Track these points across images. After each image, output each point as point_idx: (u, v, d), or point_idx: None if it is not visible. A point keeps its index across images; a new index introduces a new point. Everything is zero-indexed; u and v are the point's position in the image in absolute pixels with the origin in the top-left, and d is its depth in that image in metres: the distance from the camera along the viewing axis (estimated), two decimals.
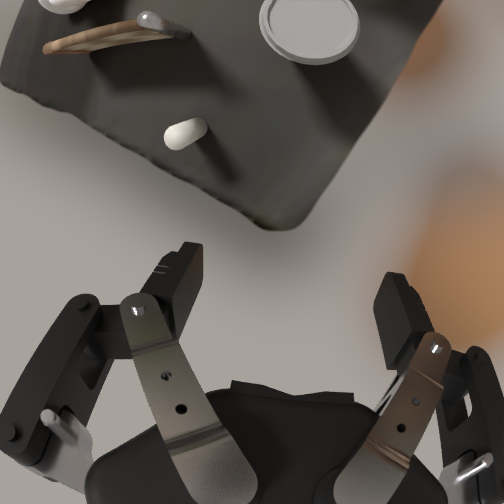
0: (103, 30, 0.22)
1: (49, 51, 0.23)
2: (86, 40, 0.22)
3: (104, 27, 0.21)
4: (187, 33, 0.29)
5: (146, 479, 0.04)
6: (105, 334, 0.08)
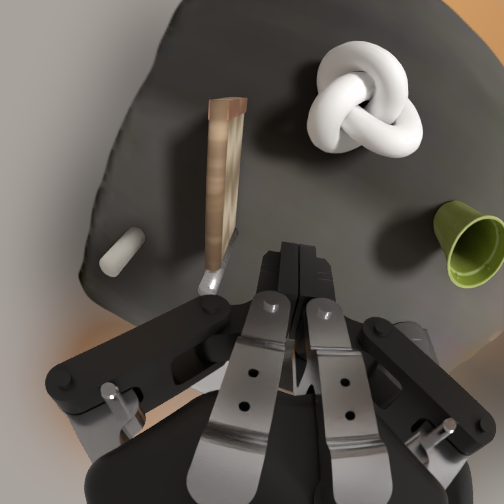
0: (212, 223, 0.25)
1: (210, 114, 0.21)
2: (206, 191, 0.24)
3: (216, 225, 0.25)
4: None
5: (146, 479, 0.04)
6: (236, 335, 0.08)
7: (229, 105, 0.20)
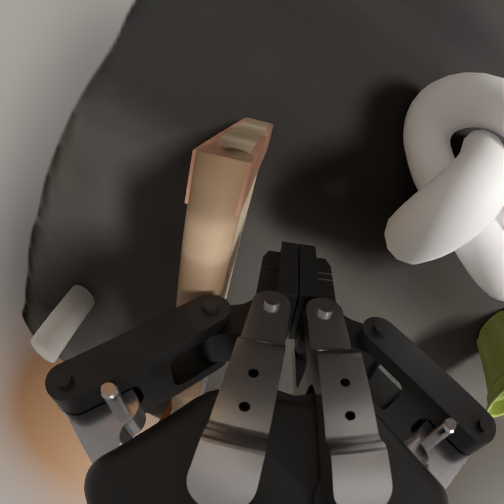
0: None
1: (191, 191, 0.08)
2: None
3: (191, 387, 0.13)
4: None
5: (146, 479, 0.04)
6: (236, 335, 0.08)
7: (248, 174, 0.08)
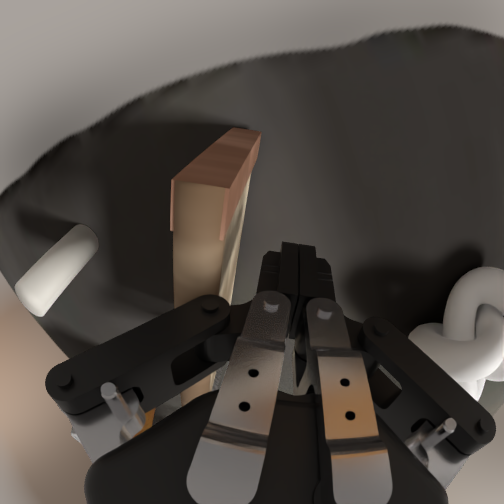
0: (191, 394, 0.13)
1: (174, 219, 0.08)
2: None
3: None
4: None
5: (146, 479, 0.04)
6: (236, 335, 0.08)
7: (228, 198, 0.08)
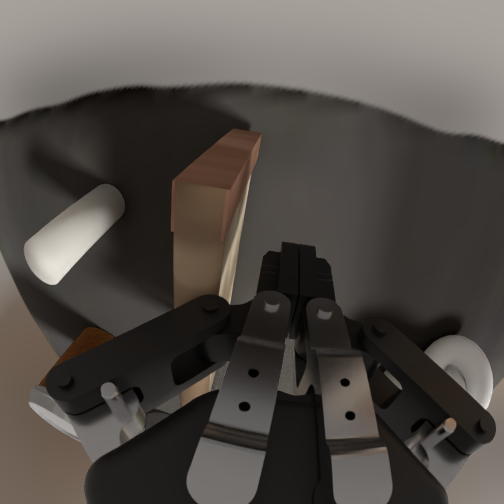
0: (190, 394, 0.13)
1: (175, 220, 0.08)
2: None
3: None
4: None
5: (146, 479, 0.04)
6: (236, 335, 0.08)
7: (229, 200, 0.08)
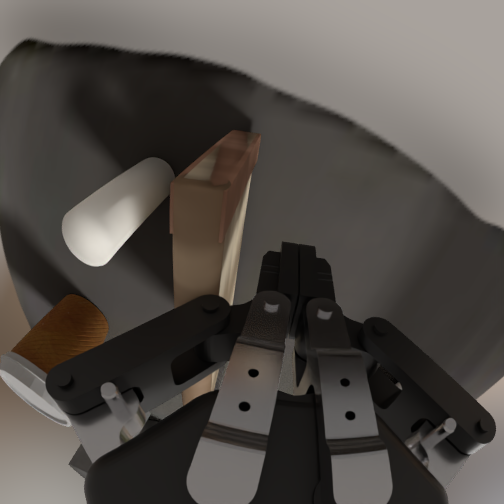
0: (192, 396, 0.13)
1: (173, 222, 0.08)
2: None
3: None
4: None
5: (146, 479, 0.04)
6: (236, 335, 0.08)
7: (226, 201, 0.08)
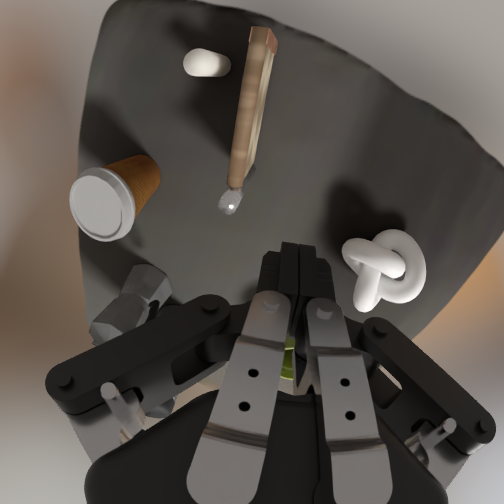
0: (240, 137, 0.25)
1: (251, 37, 0.20)
2: (238, 106, 0.24)
3: (244, 138, 0.25)
4: None
5: (146, 479, 0.04)
6: (236, 335, 0.08)
7: (269, 32, 0.19)
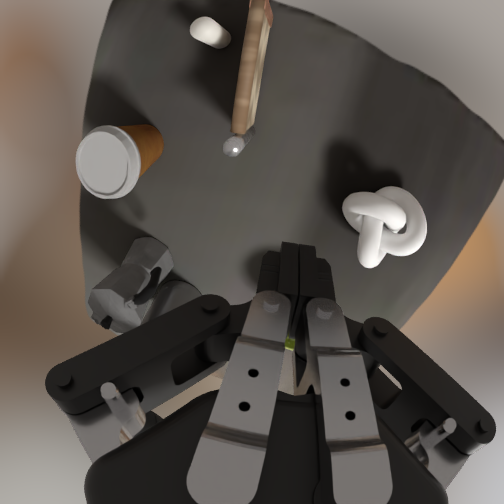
0: (243, 86, 0.25)
1: (251, 3, 0.20)
2: (241, 60, 0.24)
3: (246, 87, 0.25)
4: None
5: (146, 479, 0.04)
6: (236, 335, 0.08)
7: None
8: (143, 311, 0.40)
